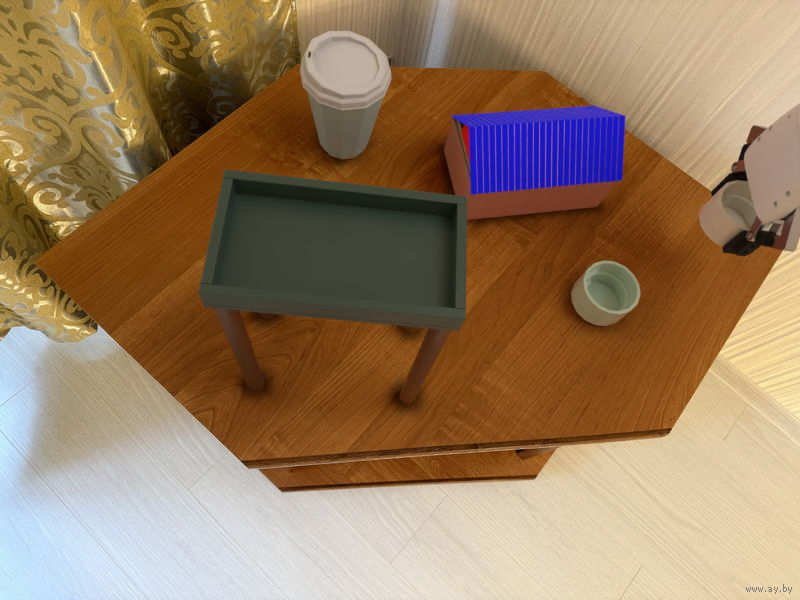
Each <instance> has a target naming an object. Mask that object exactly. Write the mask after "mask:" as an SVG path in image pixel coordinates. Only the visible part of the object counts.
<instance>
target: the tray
mask: <svg viewBox="0 0 800 600" xmlns="http://www.w3.org/2000/svg"><path fill="white" fill-rule="evenodd" d="M467 247H468V220H467V197H466V196H458V195H455V194H449V193H441V192H439V193H438V192H430V191H420V190H412V189H403V188H395V187H386V186H376V185H370V184H369V185H368V184H360V183H349V182H341V181H334V180H333V181H332V180H323V179H317V178H316V179H315V178H306V177H299V176H298V177H297V176H288V175H280V174H271V173H261V172H252V171H244V170H235V169H226V168H225V169H224V171H223V176H222V179H221V184H220V189H219V194H218V199H217V204H216V207H215V212H214V217H213V222H212V226H211V231H210V236H209V241H208V245H207V249H206V254H205V260H204V263H203V269H202V272H201V277H200V281H199V282H200V283H199V286H198V291H197V293H198V296H199V298H200V300H201V302H202V305H203V306H204V308H207V309H213V312H214V314H215V316H216V318H217V321H218V322H219V324H220V327H221V329H222V332H223V334H224V337H225V338H226V340H227V342H228V345H229V347H230V350H231V351H232V353H233V356H234V358H235V360H236V363H237V365H238V367H239V370H240V371H241V374H242V376H243V378H244V381H245V383H246V385H247V387H248V389H249V390H251V391H252V392H258V391H262V390H263V388H264V386H265V379H264V376H263V374H262V371H261V368H260V365H259V362H258V359H257V357H256V354H255V351H254V348H253V346H252V342H251V339H250V337H249V333H248V331H247V328H246V324H245V322H244V319H243V316H242V313H241V312H248V313H249V312H250V313H259V316H260V318H262V319H263V320H271V319H273V318H274V317H275V315H280V316H292V317H301V318H302V317H303V318H314V319H324V320H336V321H345V322H355V323H356V322H357V323H367V324H375V325H376V324H377V325H387V326H388V325H389V326H399V327H400V326H401V327H403V329H404V331H405V332H407V333H408V334H409V333H410V334H413V333H416V332H417V331H418V329H419V328H420V329H427V330H426V333H425V335H424V337H423V338H422V342H421V343H420V347H419V348H418V351H417V352H416V355H415V358H414V359H413V362H412V364H411V366H410V369H409V371H408V373H407V376H406V378H405V381H404V382H403V385H402V387H401V390H400V392H399V400H400V401H401V402H402V403H403V404H405V405H410V404H412V403H414V401H415V400H416V397H417V396H418V394H419V392H420V390H421V388H422V387H423V385H424V383H425V381H426V379H427V377H428V375H429V374H430V372H431V370H432V368H433V367H434V365H435V363H436V361H437V360H438V357H439V356H440V354H441V352H442V350H443V348H444V346H445V344H446V343H447V341H448V339H449V337H450V335H451V334H452V332H459V331H460V329H461V328H462V326H463V324H464V323H465V321H466V318H467V310H466V309H467V264H468V263H467V262H468V261H467V256H468V254H467V253H468V251H467V250H468V249H467Z"/></svg>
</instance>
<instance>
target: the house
mask: <svg viewBox="0 0 800 600" xmlns="http://www.w3.org/2000/svg"><path fill="white" fill-rule="evenodd" d="M451 118H452V120H451V123H450V127H449V130H448V135H447V137H446V141H445V145H444V148H443V152H444V156H445V160H446V164H447V169H448V172H449V176H450V180H451V184H452V189H453V192H454V195H458V196H466V197H467V221H470V220H471V221H472V220H480V219H489V218H499V217H509V216H519V215H520V216H521V215H529V214H538V213H549V212H550V213H551V212H559V211H569V210H579V209H589V208H597V207H599V205H600V204H601V202H602V201H603V200H604V199H605V198H606V196H607V195H608V194H609V192H610V191H611V190H612V189H613V188H614V186H615V184H616V183H617V182H620V181H621V182H622V181H623V171H624V152H625V151H624V150H625V132H626V131H625V129H626V115H624V114H621V113H618V112H616V111H615V112H614V111H612V110H609V109H606V108H603V107H599V106H595V105H586V106H572V107H557V108H556V107H555V108H543V109H527V110H510V111H498V112H497V111H496V112H483V113H470V114H453V115H452V114H451Z"/></svg>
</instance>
